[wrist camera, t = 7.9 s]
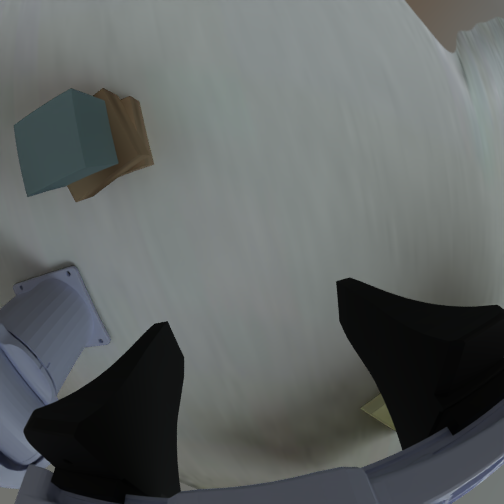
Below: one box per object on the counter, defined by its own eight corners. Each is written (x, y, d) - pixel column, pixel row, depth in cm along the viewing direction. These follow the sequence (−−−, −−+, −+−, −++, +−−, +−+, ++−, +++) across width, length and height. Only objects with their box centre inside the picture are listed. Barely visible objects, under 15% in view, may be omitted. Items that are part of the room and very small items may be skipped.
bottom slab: (98, 185, 19) (83, 189, 16) (84, 126, 17) (68, 124, 15) (155, 164, 19) (145, 165, 16) (140, 102, 17) (129, 95, 15)
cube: (65, 186, 14) (27, 197, 10) (53, 127, 13) (13, 125, 9) (118, 163, 14) (86, 167, 10) (104, 100, 13) (70, 88, 9)
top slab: (93, 196, 17) (75, 202, 14) (63, 139, 15) (44, 138, 13) (150, 155, 16) (138, 154, 14) (117, 95, 15) (102, 88, 12)
